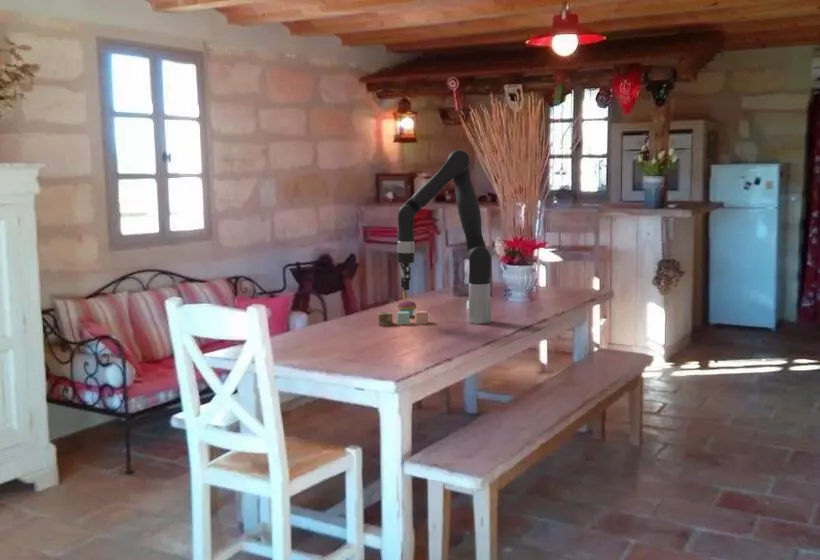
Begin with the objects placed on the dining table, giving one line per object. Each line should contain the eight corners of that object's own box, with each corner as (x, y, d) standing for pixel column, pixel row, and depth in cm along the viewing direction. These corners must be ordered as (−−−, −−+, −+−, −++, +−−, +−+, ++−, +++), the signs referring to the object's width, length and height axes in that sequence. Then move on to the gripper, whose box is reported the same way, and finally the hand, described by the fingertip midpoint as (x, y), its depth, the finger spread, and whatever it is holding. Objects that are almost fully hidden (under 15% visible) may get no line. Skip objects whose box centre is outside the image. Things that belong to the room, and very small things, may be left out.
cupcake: (395, 317, 392) (394, 291, 390) (402, 314, 400) (401, 288, 398) (412, 318, 389) (412, 291, 387) (419, 314, 397) (419, 289, 395)
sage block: (408, 322, 379) (408, 311, 378) (409, 324, 374) (409, 313, 373) (397, 322, 378) (396, 311, 378) (398, 324, 373) (398, 313, 373)
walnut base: (391, 323, 378) (391, 311, 378) (392, 325, 372) (392, 314, 372) (377, 323, 378) (377, 312, 377) (378, 326, 372) (378, 314, 371)
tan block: (426, 321, 380) (426, 310, 379) (427, 323, 375) (427, 312, 374) (415, 322, 379) (414, 311, 379) (416, 324, 374) (416, 312, 374)
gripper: (416, 253, 365) (416, 291, 367) (412, 249, 379) (411, 286, 381) (399, 253, 364) (398, 291, 366) (395, 249, 378) (394, 286, 380)
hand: (405, 288), depth 374 cm, fingers open, 8 cm apart
